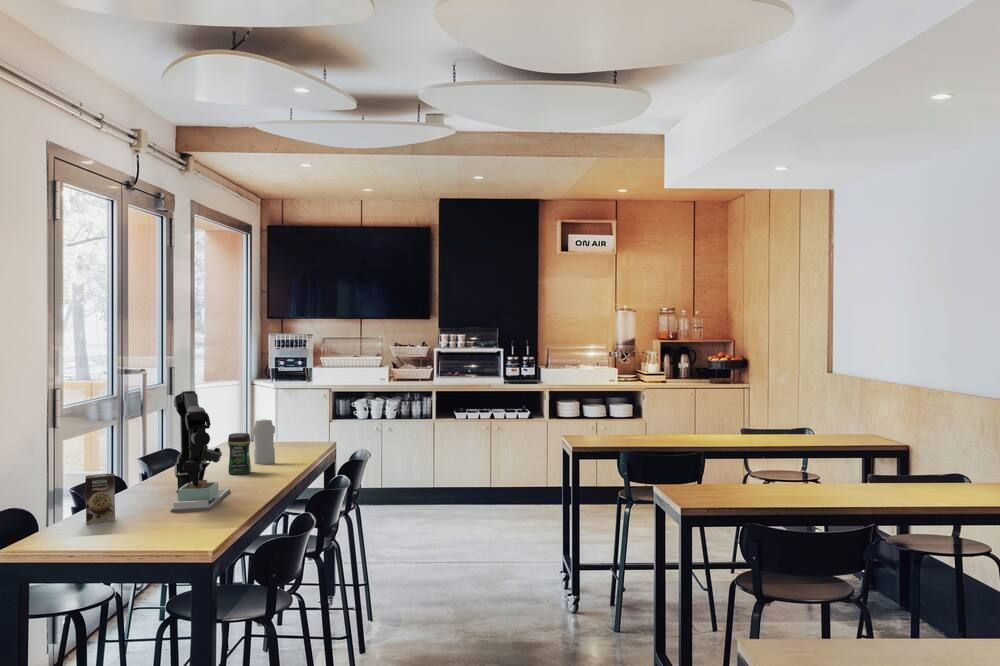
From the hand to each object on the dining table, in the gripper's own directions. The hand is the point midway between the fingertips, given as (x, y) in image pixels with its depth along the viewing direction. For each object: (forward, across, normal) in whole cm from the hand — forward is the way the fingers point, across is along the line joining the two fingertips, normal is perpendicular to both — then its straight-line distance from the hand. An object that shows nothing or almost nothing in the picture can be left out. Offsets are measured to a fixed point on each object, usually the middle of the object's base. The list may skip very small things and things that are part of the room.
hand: (198, 484), depth 285 cm
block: (+4, 0, 0) cm, 4 cm away
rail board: (+8, +4, 0) cm, 8 cm away
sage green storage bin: (+6, 0, 0) cm, 6 cm away
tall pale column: (+8, +80, -9) cm, 81 cm away
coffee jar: (+8, +59, -2) cm, 60 cm away
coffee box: (+8, -19, +28) cm, 35 cm away
